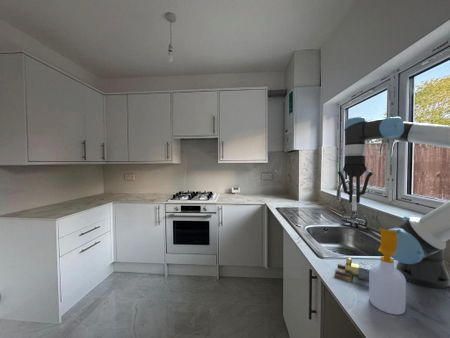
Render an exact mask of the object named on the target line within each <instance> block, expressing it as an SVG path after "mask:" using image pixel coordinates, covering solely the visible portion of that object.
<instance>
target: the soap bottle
mask: <svg viewBox="0 0 450 338" xmlns="http://www.w3.org/2000/svg"><path fill="white" fill-rule="evenodd" d="M378 230H379V231H380V246H379V248H377V249H378V250H377V251H378V252H380V253H381V254H382V255H383V256H380V263H378V264H377V263H376V264H377V265H375V264H374V265H372V267H371V269H370V271H369V287H368V299H369V302H370V303H371V304H372V306H373V307H375V309H378V310H380V311H382V312H384V313H387V314H390V315H391V314H392V315H398V316H399V315H403V314H405V312H406V304H407V303H406V301H407V300H406V298H407V297H406V292H407V280H406V279H405V276H404V275H403V274H402V273H401V272H400V271H399V270H398V269H396V267H395V265H394V264H395V259H393V258H392V257H391V256H392V255H395V253H396V250H397V232H396V231H392V230H388V229H384V228H381V227H380V228H378Z"/></svg>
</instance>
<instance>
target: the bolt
mask: <svg viewBox="0 0 450 338" xmlns="http://www.w3.org/2000/svg"><path fill="white" fill-rule="evenodd" d="M345 272H347V273H351V274H354V275H358V276H359V264H358V263H354V262H353V259H352V257H349V256H346V257H345Z"/></svg>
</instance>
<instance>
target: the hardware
mask: <svg viewBox="0 0 450 338" xmlns="http://www.w3.org/2000/svg"><path fill="white" fill-rule="evenodd" d="M358 265H359V280H363V281H367V282H369V271H370V269H371V267H372V266H373V262H369V261H365V260H359V264H358ZM374 265H377V263H375V264H374ZM337 267H339V268H343V269H345V265H344V264H341V263H337ZM334 271H335V272H334V274H335V273H337V274H341V275H344V276H348V277H351V273H347V272H344V271H340V270H337V269H335V270H334Z"/></svg>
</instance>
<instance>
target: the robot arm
mask: <svg viewBox="0 0 450 338" xmlns="http://www.w3.org/2000/svg"><path fill="white" fill-rule="evenodd" d="M343 129H344V130H343V131H344V155H345V156H344V165H343V167H342V168H343V169H340V170H338V171H337V175H338V176H339V178H340V182H341V185H342V190H343V192H344V194H345V195H348V202H349V203H351V211H352V212H357V208H358V207H357V206H358V205H357V204H360V202H361V201H360V200H361V196H363V195H365V194H366V191H367V187H368V185H369V181H370V178H371V177H372V175H373V174H374V173H373V171H371V170H368V168H367V166H366V155H365V154H366V144H367V143H366V141H369V140H381V139H382V140H393V141H400V142H405V143H406V142H407V143H413V144H419V145H426V146H431V147H432V146H433V147H437V148H438V147H439V148H445V149H450V125H445V124H444V125H443V124H432V123H431V124H430V123H421V122H411V121H404V120H403V118H402V117H400V116H393V117H392V116H391V117H390V116H387V117H384V118H379V119H378V118H377V119H373V120H367V118H366V117H365V116H356V117H350V118H347V119H346V120H345V121H344V128H343ZM345 174H346V175H347V176H348V187H347V182H346V178H345V176H344V175H345ZM364 174H365V176H366V177H365V180H364V183H363V185H362V189H361V177H362V176H363V175H364ZM354 178H355V194H354ZM387 230H392V231H396V232H397V250H396V253H395V255H392V256H391V257H390V258H392V259H393V260H394V261H397V263H396V267H395V268H396V269H398V270H399V271H400V272H401V273H402V274H403V275H404V276H405V279H406V281H408V282H411V283H414V284H416V285H420V286H423V287H427V288H432V289H439V290H441V289H448V288H450V276H449V273H448V270H447V268H446V266H445V262H444V254H445V249H446V248H447V241H449V240H450V199H449V200H448V201H446V202H444V203H443V204H441V205H440V206H438V207H436V208H435V209H432V210H431V211H430V212H428V213H426V214H424V215H423V216H421V217H420V216H419V217H417V216H412V215H411V216H410V215H407V216H403V217H402V221H401V223H399V224H398V225H396V226H395V227H391V228H389V229H387Z"/></svg>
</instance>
